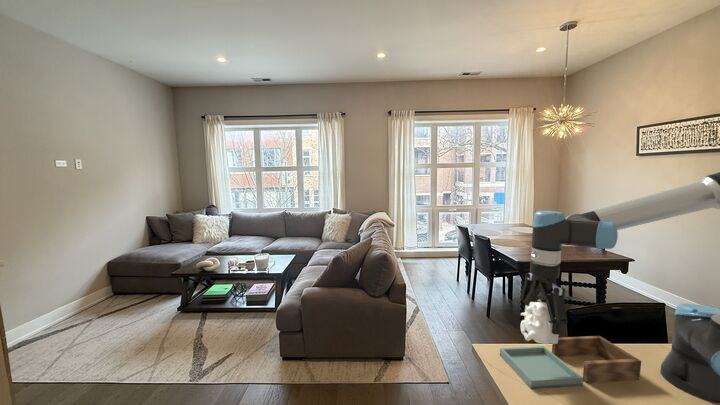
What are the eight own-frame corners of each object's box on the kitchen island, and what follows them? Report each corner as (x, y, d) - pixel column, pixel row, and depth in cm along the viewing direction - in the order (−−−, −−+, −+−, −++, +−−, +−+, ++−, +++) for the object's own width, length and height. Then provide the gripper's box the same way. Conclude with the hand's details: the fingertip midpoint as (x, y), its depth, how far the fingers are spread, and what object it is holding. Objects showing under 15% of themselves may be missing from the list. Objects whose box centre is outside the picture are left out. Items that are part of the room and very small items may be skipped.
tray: (543, 353, 99) (544, 346, 99) (582, 385, 84) (582, 377, 84) (499, 355, 98) (500, 348, 98) (530, 389, 82) (531, 380, 82)
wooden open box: (598, 352, 100) (599, 335, 99) (639, 380, 86) (641, 361, 86) (551, 354, 98) (552, 337, 98) (586, 383, 85) (587, 363, 84)
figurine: (550, 333, 94) (553, 297, 93) (565, 351, 84) (568, 311, 83) (516, 330, 96) (519, 294, 95) (527, 347, 86) (530, 307, 85)
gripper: (510, 252, 98) (507, 316, 100) (561, 275, 76) (555, 356, 78) (532, 252, 99) (527, 315, 101) (588, 274, 77) (581, 355, 79)
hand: (539, 333), depth 90 cm, fingers closed on figurine, 10 cm apart
